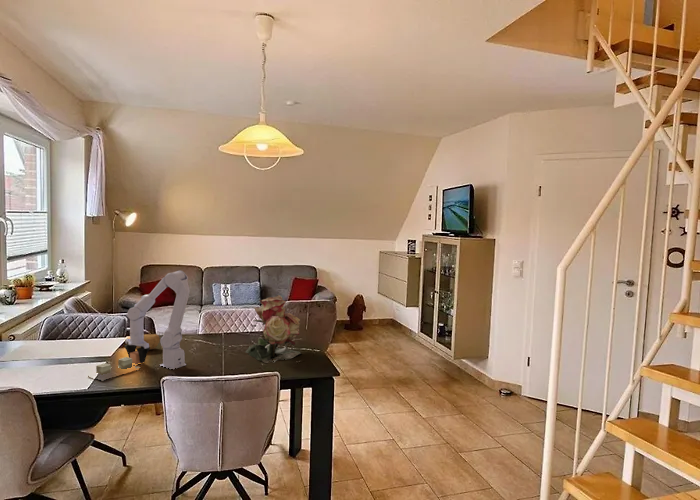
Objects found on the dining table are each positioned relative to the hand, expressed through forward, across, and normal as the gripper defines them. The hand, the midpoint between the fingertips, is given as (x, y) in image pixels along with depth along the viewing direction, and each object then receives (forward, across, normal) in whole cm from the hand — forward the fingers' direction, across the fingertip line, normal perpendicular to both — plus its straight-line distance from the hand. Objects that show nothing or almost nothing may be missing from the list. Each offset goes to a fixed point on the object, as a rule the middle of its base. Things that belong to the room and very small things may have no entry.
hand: (137, 360), depth 209 cm
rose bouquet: (+2, +44, +48) cm, 65 cm away
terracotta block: (+2, 0, 0) cm, 2 cm away
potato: (+2, -15, +15) cm, 21 cm away
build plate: (+1, +3, -13) cm, 13 cm away
